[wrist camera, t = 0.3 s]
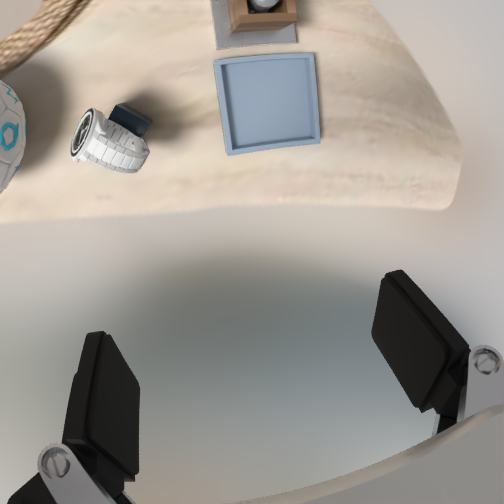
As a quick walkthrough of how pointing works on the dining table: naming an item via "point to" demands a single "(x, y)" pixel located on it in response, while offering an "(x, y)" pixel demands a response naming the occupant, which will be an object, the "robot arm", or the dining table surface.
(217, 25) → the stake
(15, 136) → the puzzle ball
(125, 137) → the watch
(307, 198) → the dining table surface
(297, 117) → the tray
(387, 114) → the dining table surface
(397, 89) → the dining table surface
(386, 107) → the dining table surface
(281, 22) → the collar
